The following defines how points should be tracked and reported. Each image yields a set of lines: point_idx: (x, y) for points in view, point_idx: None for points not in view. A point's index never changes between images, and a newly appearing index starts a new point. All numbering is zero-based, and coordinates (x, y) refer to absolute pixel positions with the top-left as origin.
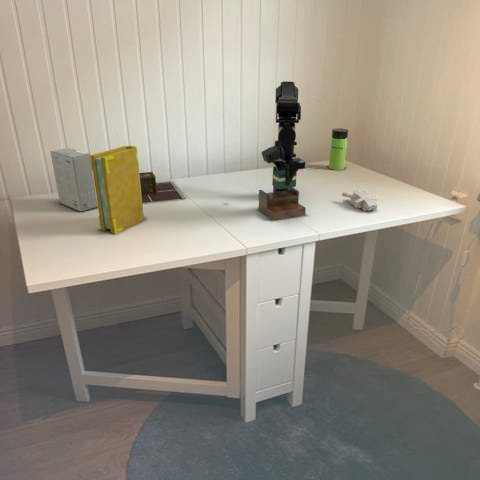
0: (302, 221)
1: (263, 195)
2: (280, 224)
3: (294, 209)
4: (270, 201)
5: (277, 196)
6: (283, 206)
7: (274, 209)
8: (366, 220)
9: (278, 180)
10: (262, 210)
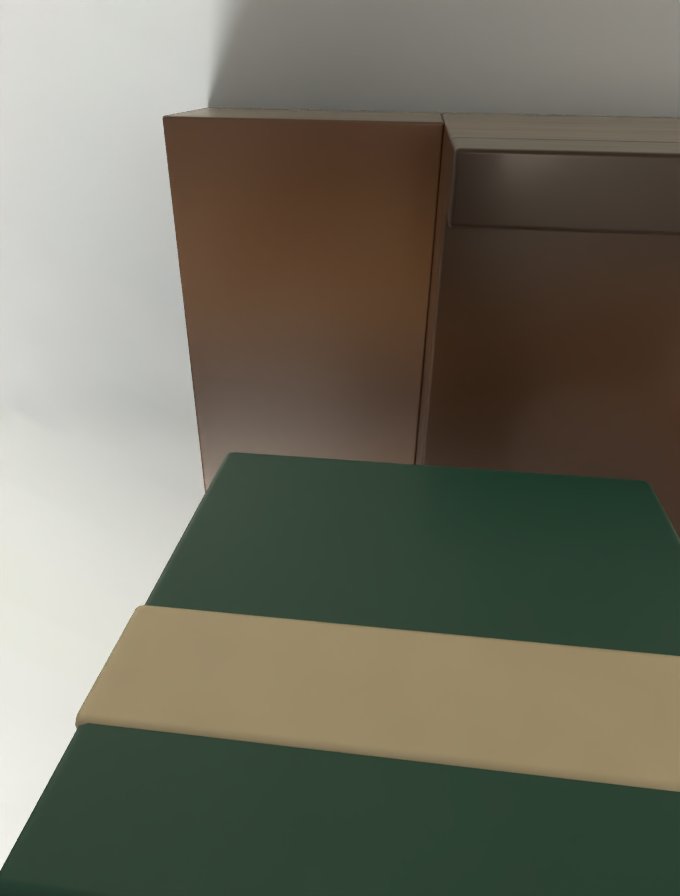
0: (84, 434)
1: (673, 145)
2: (35, 134)
3: (203, 474)
4: (439, 222)
5: (514, 439)
6: (369, 410)
7: (298, 211)
8: (11, 801)
9: (158, 637)
10: (610, 119)
